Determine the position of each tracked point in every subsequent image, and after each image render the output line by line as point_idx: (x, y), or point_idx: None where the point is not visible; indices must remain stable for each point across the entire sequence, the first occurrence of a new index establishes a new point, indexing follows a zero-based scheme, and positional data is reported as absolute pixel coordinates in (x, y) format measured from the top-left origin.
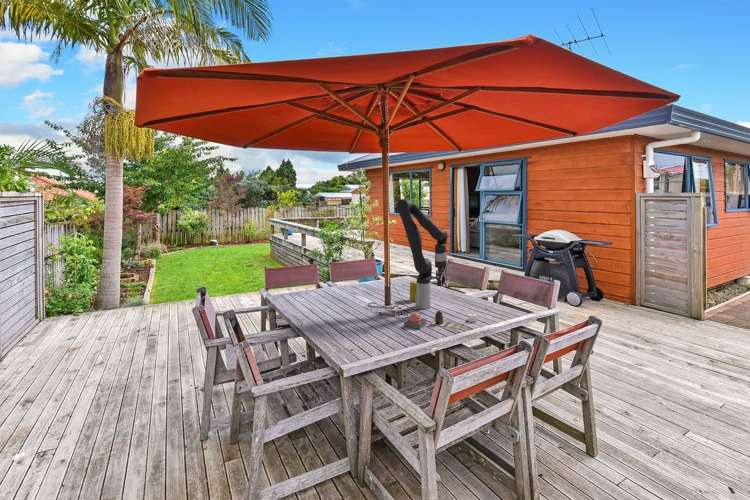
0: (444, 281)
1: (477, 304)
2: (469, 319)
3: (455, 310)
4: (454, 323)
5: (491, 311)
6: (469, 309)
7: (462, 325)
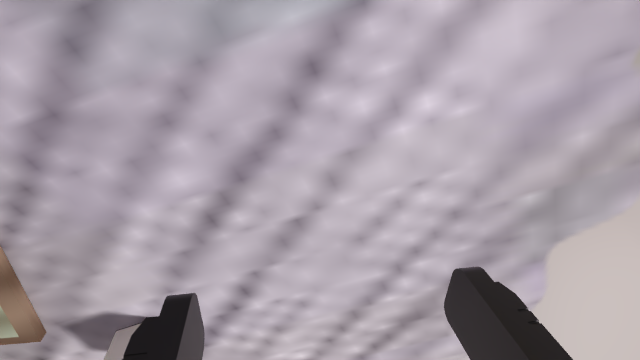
0: (465, 341)
1: (509, 261)
2: (108, 354)
3: (339, 202)
4: (5, 302)
5: (387, 338)
6: (391, 258)
7: (10, 340)
